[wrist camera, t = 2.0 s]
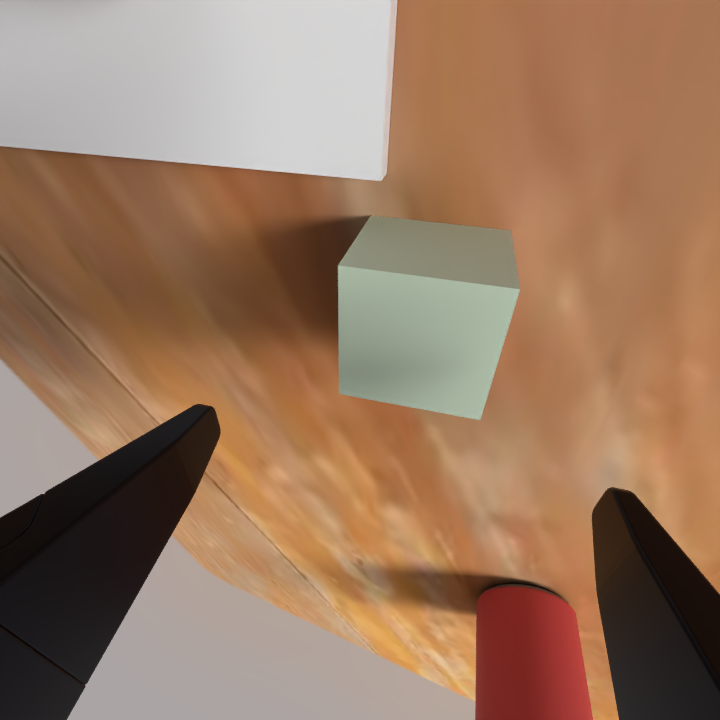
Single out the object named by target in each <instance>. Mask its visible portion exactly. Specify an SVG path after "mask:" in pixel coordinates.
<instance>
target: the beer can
mask: <svg viewBox="0 0 720 720" xmlns="http://www.w3.org/2000/svg"><path fill="white" fill-rule="evenodd" d="M475 720H593V717H592V711H591V704H590V698H589V692H588V686H587V680H586V674H585V668H584V662H583V656H582V649H581V643H580V637H579V631H578V625H577V619H576V613H575V612H574V610H573V609H572V608H571V607H570V605H569V604H568V603H567V602H566V601H565V600H564V599H562V598H560V597H559V596H557V595H556V594H554V593H552V592H550V591H547V590H545V589H542V588H539V587H534V586H530V585H523V584H504V585H498V586H495V587H491V588H489V589H487V590H486V591H485V592H483V593H482V594H481V595H480V597H479V599H478V602H477V620H476V716H475Z"/></svg>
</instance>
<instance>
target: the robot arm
mask: <svg viewBox="0 0 720 720" xmlns="http://www.w3.org/2000/svg"><path fill="white" fill-rule="evenodd" d="M219 437H220V425H219V422H218V418H217V415H216V411H215V409H214V408H213V407H212V406H208V405H203V404H196V405H194V406H192V407H190V408H189V409H187V410H185V411H183V412H182V413H180V414H178V415H177V416H175V417H173V418H171V419H170V420H168V421H166V422H165V423H163V424H161V425H159V426H158V427H156V428H154V429H153V430H151V431H149V432H147V433H146V434H144V435H142V436H140V437H139V438H137V439H135V440H134V441H132V442H130V443H128V444H127V445H125V446H123V447H122V448H120V449H118V450H116V451H115V452H113V453H111V454H110V455H108V456H106V457H104V458H103V459H101V460H99V461H98V462H96V463H94V464H93V465H91V466H89V467H87V468H86V469H84V470H82V471H80V472H79V473H77V474H76V475H73V476H72V477H70V478H68V479H67V480H65V481H63V482H62V483H60V484H58V485H56V486H55V487H53V488H51V489H49V490H48V491H46V492H45V494H41V495H39V496H37V497H35V498H34V499H32V500H30V501H29V502H27V503H25V504H23V505H22V506H20V507H18V508H16V509H15V510H13V511H11V512H9V513H7V514H6V515H4V516H2V517H0V720H67V718H68V716H69V715H70V713H71V711H72V709H73V708H74V706H75V704H76V702H77V701H78V699H79V697H80V695H81V693H82V692H83V690H84V688H85V684H87V683H88V681H89V679H90V677H91V675H92V674H93V672H94V670H95V668H96V666H97V665H98V663H99V661H100V660H101V658H102V656H103V654H104V653H105V651H106V649H107V647H108V646H109V644H110V642H111V640H112V639H113V637H114V635H115V633H116V631H117V630H118V628H119V626H120V624H121V623H122V621H123V619H124V617H125V615H126V614H127V612H128V610H129V609H130V607H131V605H132V603H133V602H134V600H135V598H136V596H137V595H138V593H139V591H140V589H141V588H142V586H143V584H144V582H145V580H146V579H147V577H148V575H149V573H150V572H151V570H152V568H153V566H154V565H155V563H156V561H157V559H158V557H159V556H160V554H161V552H162V550H163V549H164V547H165V545H166V543H167V542H168V540H169V538H170V536H171V535H172V533H173V531H174V529H175V528H176V526H177V524H178V522H179V521H180V519H181V517H182V515H183V514H184V512H185V510H186V508H187V507H188V505H189V503H190V501H191V499H192V498H193V496H194V494H195V492H196V490H197V488H198V485H199V483H200V481H201V479H202V476H203V474H204V472H205V470H206V467H207V465H208V463H209V460H210V458H211V456H212V453H213V451H214V449H215V447H216V444H217V442H218V440H219ZM592 529H593V545H594V562H595V578H596V590H597V597H598V603H599V609H600V615H601V620H602V626H603V631H604V637H605V643H606V648H607V654H608V660H609V665H610V671H611V676H612V682H613V688H614V693H615V699H616V704H617V710H618V716H619V720H720V594H719V593H718V592H717V590H716V589H715V588H714V587H713V586H712V585H711V583H710V582H709V581H708V580H707V579H706V578H705V576H704V575H703V574H702V573H701V572H700V570H699V569H698V568H697V567H696V566H695V565H694V563H693V562H692V561H691V560H690V559H689V558H688V556H687V555H686V554H685V553H684V552H683V550H682V549H681V548H680V547H679V546H678V545H677V543H676V542H675V541H674V540H673V539H672V538H671V536H670V535H669V534H668V533H667V532H666V530H665V529H664V528H663V527H662V526H661V525H660V523H659V522H658V521H657V520H656V519H655V517H654V516H653V515H652V514H651V513H650V512H649V510H648V509H647V508H646V507H645V506H644V505H643V503H642V502H641V501H640V500H639V499H638V497H637V496H636V495H635V494H634V493H632V492H631V491H628V490H624V489H619V488H614V487H611V488H608V489H607V490H606V491H605V493H604V494H603V496H602V497H601V499H600V500H599V501H598V503H597V504H596V506H595V507H594V509H593V513H592Z"/></svg>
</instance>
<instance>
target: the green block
mask: <svg viewBox="0 0 720 720" xmlns="http://www.w3.org/2000/svg"><path fill="white" fill-rule="evenodd" d="M519 291H520V286H519V279H518V272H517V265H516V259H515V252H514V245H513V239H512V232H511V230H502V229H493V228H483V227H474V226H465V225H455V224H446V223H437V222H427V221H418V220H409V219H400V218H390V217H381V216H372V215H371V216H370V218H369V219H368V221H367V222H366V224H365V225H364V227H363V228H362V230H361V231H360V233H359V234H358V236H357V237H356V239H355V240H354V242H353V243H352V245H351V246H350V248H349V249H348V251H347V252H346V254H345V256H344V257H343V259H342V260H341V262H340V263H339V265H338V333H339V394H343V395H348V396H353V397H359V398H364V399H370V400H375V401H380V402H386V403H391V404H396V405H402V406H407V407H412V408H418V409H423V410H429V411H434V412H439V413H445V414H450V415H455V416H461V417H466V418H471V419H477V420H480V419H481V416H482V412H483V409H484V406H485V403H486V399H487V396H488V393H489V389H490V386H491V383H492V380H493V376H494V373H495V370H496V367H497V363H498V360H499V357H500V353H501V350H502V347H503V344H504V340H505V337H506V334H507V330H508V327H509V324H510V321H511V317H512V314H513V311H514V308H515V304H516V301H517V298H518V294H519Z"/></svg>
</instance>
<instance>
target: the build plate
mask: <svg viewBox="0 0 720 720" xmlns="http://www.w3.org/2000/svg"><path fill="white" fill-rule="evenodd" d="M396 15H397V0H0V146H5V147H16V148H27V149H38V150H49V151H60V152H71V153H82V154H93V155H103V156H114V157H125V158H136V159H147V160H158V161H169V162H180V163H191V164H202V165H213V166H223V167H234V168H245V169H256V170H267V171H278V172H289V173H300V174H311V175H322V176H333V177H343V178H354V179H365V180H376V181H381V180H382V179H383V178H384V176H385V175H386V174H387V160H388V144H389V128H390V111H391V95H392V79H393V63H394V47H395V31H396Z"/></svg>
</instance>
